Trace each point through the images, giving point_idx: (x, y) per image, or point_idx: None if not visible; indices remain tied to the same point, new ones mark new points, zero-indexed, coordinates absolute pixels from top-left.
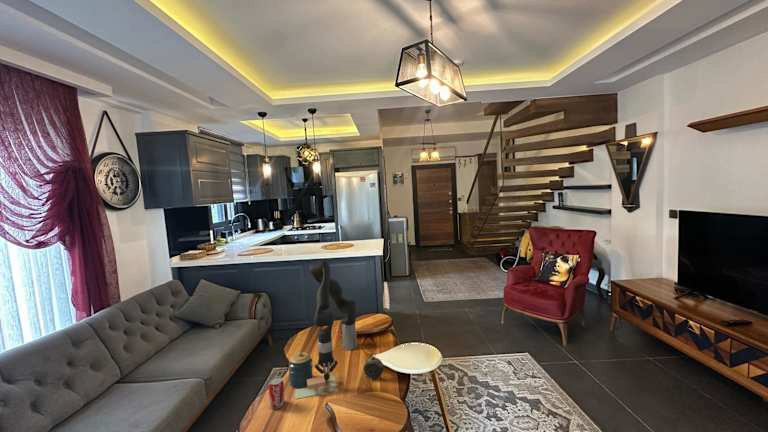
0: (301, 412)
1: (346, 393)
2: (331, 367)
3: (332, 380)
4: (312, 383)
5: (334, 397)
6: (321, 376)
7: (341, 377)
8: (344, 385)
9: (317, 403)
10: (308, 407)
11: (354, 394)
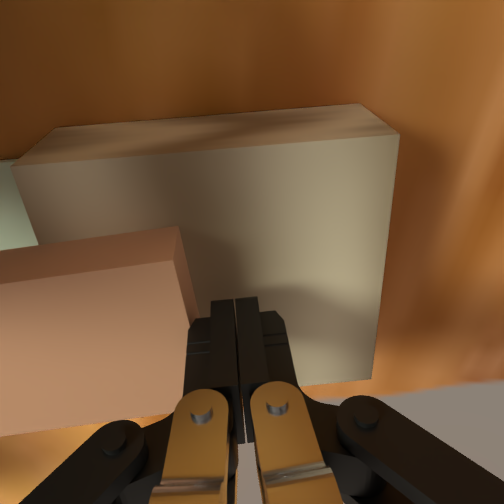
0: (12, 479)
1: (418, 350)
2: (388, 468)
3: (320, 292)
4: (6, 415)
5: None
6: (135, 278)
7: (478, 15)
8: (446, 227)
9: (135, 419)
10: (59, 446)
11: (481, 373)
